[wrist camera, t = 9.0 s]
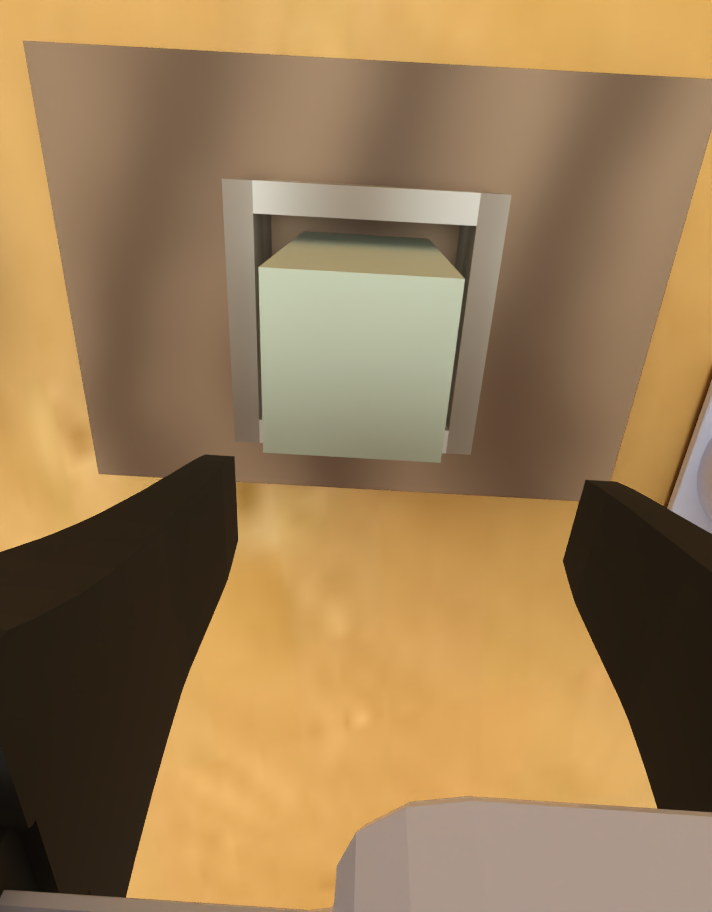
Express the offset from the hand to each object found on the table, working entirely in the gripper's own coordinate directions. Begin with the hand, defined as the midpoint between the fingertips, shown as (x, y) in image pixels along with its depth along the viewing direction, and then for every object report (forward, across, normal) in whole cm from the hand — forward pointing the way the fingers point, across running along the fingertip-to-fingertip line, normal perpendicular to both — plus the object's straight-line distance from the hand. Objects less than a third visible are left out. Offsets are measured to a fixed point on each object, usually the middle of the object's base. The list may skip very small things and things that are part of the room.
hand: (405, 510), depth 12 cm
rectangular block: (+9, +1, -2) cm, 10 cm away
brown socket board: (+10, +1, -2) cm, 11 cm away
